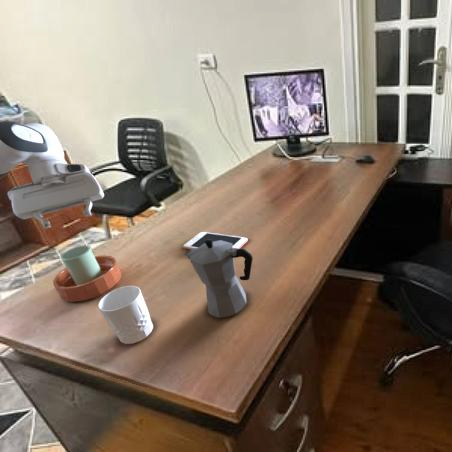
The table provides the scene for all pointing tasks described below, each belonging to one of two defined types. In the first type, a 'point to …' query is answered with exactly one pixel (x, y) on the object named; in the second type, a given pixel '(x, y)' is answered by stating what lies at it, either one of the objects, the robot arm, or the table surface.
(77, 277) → the cup
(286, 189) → the table surface
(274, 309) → the table surface
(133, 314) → the white cup
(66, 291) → the bowl
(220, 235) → the cell phone
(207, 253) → the coffeepot
